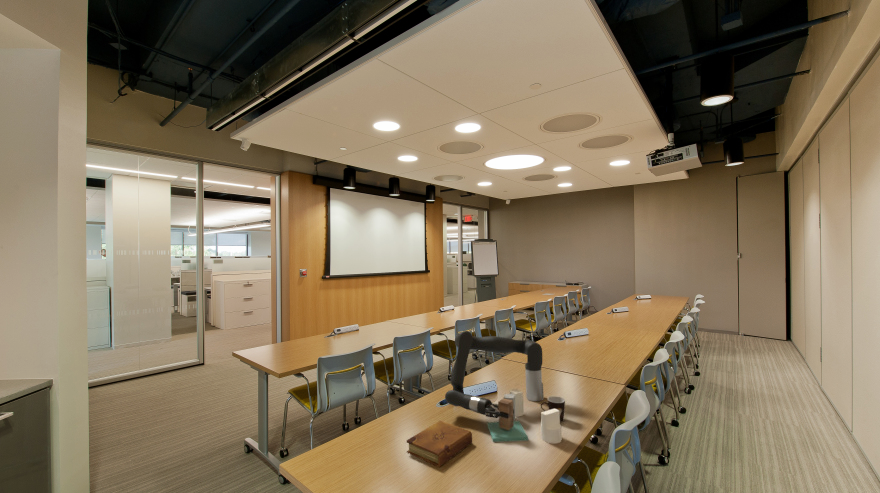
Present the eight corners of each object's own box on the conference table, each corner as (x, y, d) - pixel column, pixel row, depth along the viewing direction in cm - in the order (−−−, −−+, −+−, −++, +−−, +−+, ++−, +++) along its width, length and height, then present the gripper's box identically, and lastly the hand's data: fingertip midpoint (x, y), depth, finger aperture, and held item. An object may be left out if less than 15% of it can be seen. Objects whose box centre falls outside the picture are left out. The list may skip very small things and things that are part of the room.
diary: (440, 469, 139) (439, 454, 139) (406, 453, 151) (406, 440, 151) (472, 444, 157) (471, 431, 157) (440, 432, 169) (440, 420, 169)
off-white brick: (517, 411, 188) (516, 388, 189) (523, 414, 184) (522, 391, 184) (510, 413, 186) (509, 390, 187) (516, 417, 182) (515, 393, 182)
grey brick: (505, 417, 182) (504, 393, 183) (515, 418, 180) (514, 394, 181) (504, 421, 177) (503, 397, 178) (514, 422, 176) (513, 398, 176)
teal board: (519, 424, 174) (519, 420, 174) (528, 440, 158) (527, 437, 158) (487, 425, 173) (487, 422, 173) (493, 441, 157) (492, 438, 158)
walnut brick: (504, 423, 169) (503, 398, 170) (513, 426, 166) (512, 400, 167) (499, 427, 165) (498, 401, 166) (508, 430, 162) (507, 404, 163)
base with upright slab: (551, 445, 153) (550, 417, 154) (536, 436, 161) (535, 410, 162) (566, 440, 157) (564, 413, 158) (551, 431, 165) (550, 406, 166)
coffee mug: (566, 417, 180) (565, 397, 180) (565, 424, 172) (564, 403, 172) (543, 413, 185) (542, 394, 185) (540, 420, 177) (540, 400, 177)
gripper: (472, 402, 170) (503, 411, 159) (487, 393, 181) (517, 400, 170) (472, 418, 169) (504, 428, 159) (488, 408, 180) (518, 416, 170)
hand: (511, 413), depth 164 cm, fingers closed on walnut brick, 5 cm apart
